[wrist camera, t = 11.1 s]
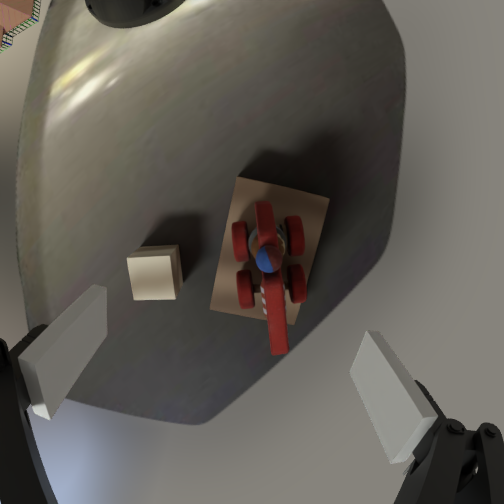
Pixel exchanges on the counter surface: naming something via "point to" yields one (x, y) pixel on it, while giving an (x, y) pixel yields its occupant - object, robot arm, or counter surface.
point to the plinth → (244, 210)
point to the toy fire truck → (270, 268)
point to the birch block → (155, 272)
